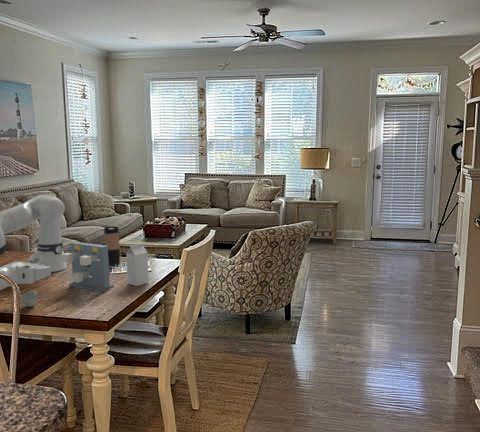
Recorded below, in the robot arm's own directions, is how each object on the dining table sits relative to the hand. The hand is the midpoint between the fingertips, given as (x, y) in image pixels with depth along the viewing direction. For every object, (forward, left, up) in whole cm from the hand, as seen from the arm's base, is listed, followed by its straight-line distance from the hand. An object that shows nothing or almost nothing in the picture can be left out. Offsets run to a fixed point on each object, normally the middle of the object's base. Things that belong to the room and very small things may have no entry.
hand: (44, 264), depth 202 cm
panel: (+5, +21, -15) cm, 26 cm away
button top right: (+11, +17, -2) cm, 20 cm away
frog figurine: (+2, -10, -15) cm, 18 cm away
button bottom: (+5, +17, -10) cm, 20 cm away
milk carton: (+22, +34, -15) cm, 43 cm away
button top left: (0, +17, -2) cm, 17 cm away
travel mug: (-13, +56, -15) cm, 59 cm away
